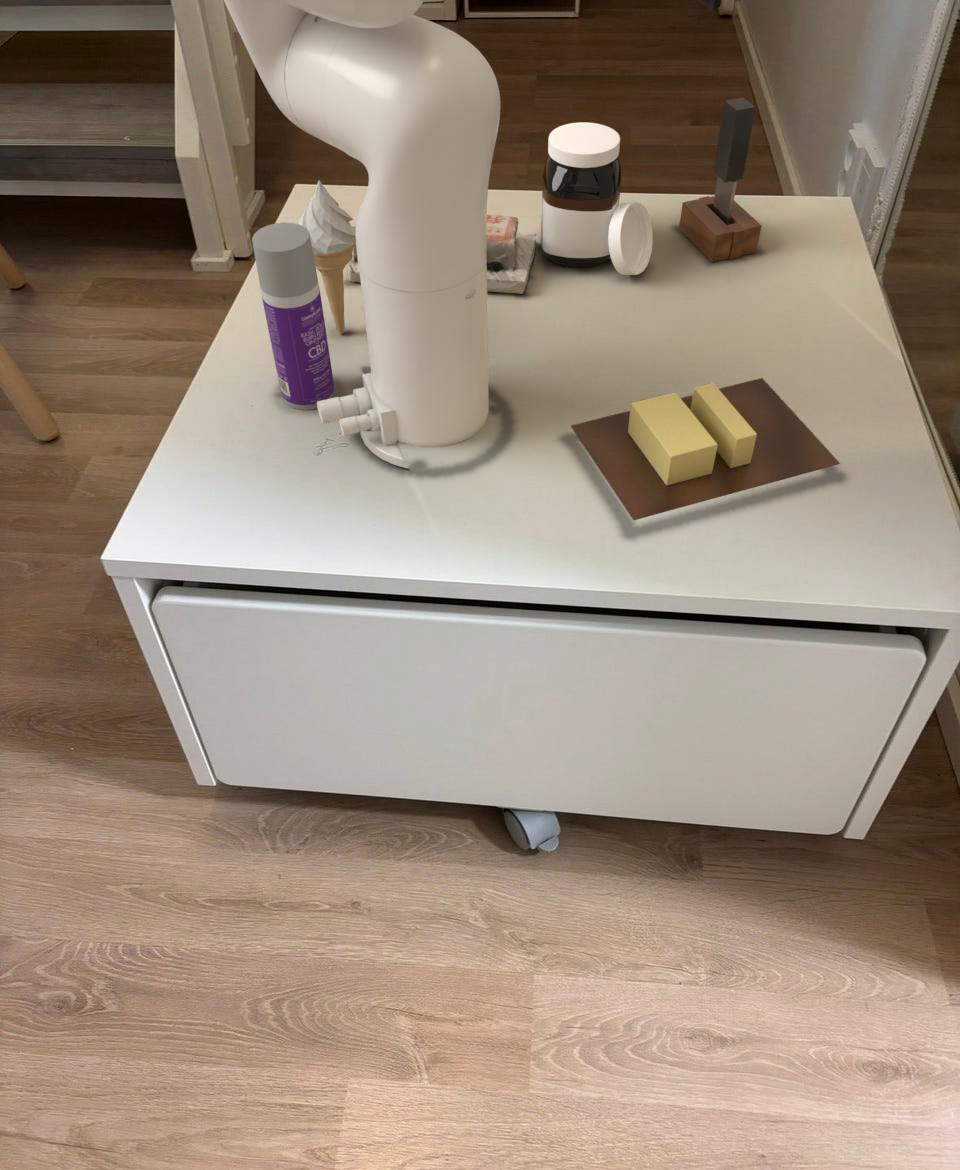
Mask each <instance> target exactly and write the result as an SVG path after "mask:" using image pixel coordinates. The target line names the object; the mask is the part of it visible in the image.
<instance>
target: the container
mask: <svg viewBox="0 0 960 1170" xmlns="http://www.w3.org/2000/svg"><path fill="white" fill-rule="evenodd" d="M251 241H252V247H253V253H254V259H255V264H256V271H257V276H258V282H259V283H258V284H259V288H260V294H261V300H262V305H263V310H264V314H265V320H266V324H267V329H268V335H269V340H270V345H271V349H272V354H273V355H272V356H273V359H274V360H273V361H274V364H275V365H274V366H275V369H276V374H277V380H278V385H279V390H280V394H281V399H282V401H283V402H284V404H285V405H287V406H288V407H290V408H293V409H295V410H301V411H308V410H314V409H318V408H317V401H321V400H326V399H330V398H334V397H335V394H336V393H335V392H336V390H335V382H334V375H333V368H332V363H331V361H332V360H331V357H330V356H331V355H330V349H329V342H328V337H327V336H328V335H327V329H326V322H325V316H324V309H323V302H322V298H321V289H320V284H319V279H318V274H317V273H318V272H317V269H316V267H315V261H314V256H313V250H312V245H311V239H310V234H309V231H308V230H307V229H306V228H305V227H303V226H301V225H299V224H297V223H294V222H277V223H271V224H267V225H265V226H263V227H261V228H260V229H258V230H257V231H256V232H254V234H253V236H252V237H251Z"/></svg>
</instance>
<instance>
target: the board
mask: <svg viewBox="0 0 960 1170" xmlns="http://www.w3.org/2000/svg"><path fill="white" fill-rule="evenodd" d="M718 389H719V390H720V391H721V392H722V394H723V395H724V396H725V397H726V398H727V400H728V401H729V402H730V403H731V404H732V405H733V407H734V408H735V409H736V410H737V411H738V412H739V414H740V415H741V416H742V417H743V418H744V419H745V421H746V422H747V423H748V424H749V425H750V426H751V428H752V429H753V430H754V431H755V432H756V433H757V437H756V441H755V445H754V449H753V454H752V458H751V462H750V463H749V464H745V465H742V466H738V467H734V468H730V467H729V466H728V464H727V463H726V462H725V461H724V459H723V458H722V457H721V456H720V454H719V453H718V452H717V451H716V456H715V461H714V466H713V471H712V473H711V474H708V475H704V476H701V477H697V478H693V479H690V480H686V481H682V482H678V483H675V484H671V485H666V484H665V483H664V481H663V480H662V479H661V477H660V476H659V475H658V473H657V472H656V470H655V469H654V468H653V466H652V465H651V463H650V462H649V461H648V459H647V458H646V457H645V455H644V454H643V452H642V451H641V450H640V448H639V447H638V445H637V444H636V443H635V441H634V440H633V439H632V437H631V436H630V434H629V433H628V426H629V418H630V410H627V411H623V412H619V413H616V414H612V415H607V416H603V417H599V418H595V419H591V420H586V421H583V422H580V423H575V424H571V425H570V428H571V429H572V430H573V432H574V433H575V436H576V437H577V438H578V439H579V441H580V442H581V444H582V447H584V448H585V450H586V452H587V453H588V455H589V456H590V458H591V459H592V461H593V462H594V464H595V465H596V467H597V468H598V470H599V471H600V473H601V474H602V476H603V477H604V479H605V480H606V482H607V483H608V484H609V486H610V488H611V490H612V491H613V493H615V495H616V497H617V498H618V500H619V501H620V503H621V505H622V506H623V507H624V509H625V510H626V511H627V513H628V515H629V516H630V518H631V519H632V520H633V521H637V520H641V519H644V518H648V517H651V516H655V515H659V514H662V513H667V512H669V511H674V510H677V509H681V508H684V507H685V508H686V507H688V506H691V505H692V506H693V505H696V504H699V503H702V502H703V503H704V502H706V501H709V500H713V499H714V500H715V499H717V498H720V497H726V496H728V495H732V494H735V493H739V492H743V491H746V490H750V489H754V488H757V487H760V486H765V485H768V484H772V483H775V482H776V483H777V482H780V481H782V480H783V481H784V480H787V479H790V478H794V477H797V476H801V475H805V474H808V473H812V472H816V471H820V470H823V469H827V468H831V467H834V466H838V465H840V464H841V462H840V461H839V460H838V459H837V458H836V456H834V455H833V454H832V452H831V451H830V450H829V449H828V448H827V447H826V446H825V445H824V444H823V443H822V441H820V440H819V438H818V437H817V436H816V435H815V434H814V433H813V432H812V431H811V429H810V428H808V426H806V424H805V423H804V422H803V421H802V420H801V419H800V417H799V416H798V415H797V414H796V413H795V412H794V411H793V410H792V409H791V407H789V406H788V404H787V403H786V402H785V401H784V400H783V399H782V398H781V397H780V395H778V393H777V392H776V391H775V390H774V389H773V388H772V386H771V385H769V384H768V382H767V381H766V380H765V379H764V378H763V377H761V378H756V379H752V380H749V381H743V382H740V383H736V384H732V385H729V386H728V385H727V386H724V387H720V388H718ZM692 397H693V394H691V395H688V396H684V397H680V398H681V399H682V401H683V402H684V403H685V404H686V406H687V407H688V408H689V409H691V403H692Z"/></svg>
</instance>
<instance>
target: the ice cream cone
mask: <svg viewBox="0 0 960 1170" xmlns="http://www.w3.org/2000/svg"><path fill="white" fill-rule="evenodd" d="M339 206H340V205H339V202H337V200H336V199H335V198H334V197H333V196H332V195H331V194H330V193H329V192H328V190H327V189H326V187H325V186H324V184H323V183H322V181H321V180H320V179H319V180H318V181H317V184H316V187H315V190H314V192H313V194H312V197H311V199H310V200H309V202H308V203H307V206H306V208H305V210H304V211H303V213H302V215H301V217H300V218H299V220H298V222H297V223H296V224H299V225H301V226H303V227H305V228H306V229H307V230H308V231H309V234H310V239H311V245H312V250H313V256H314V261H315V267H316V270H317V271H318V272H319V273H320V275H321V279H322V282H323V285H324V290H325V293H326V297H327V300H328V304H329V307H330V312H331V314H332V317H333V321H334V325H335V329H336V331H337V334H339V335H343V334H344V332H345V329H346V326H345V325H346V324H345V285H344V269H345V267H346V266H347V265H348V264H350V263H351V260H352V258H353V247H354V245H355V244H356V227H355V226H352V224H351V223H350V222H351V221H353V220H354V218H353V217H352V216H351V215H350V214H349V213H348V212H347V211H346V210H345V209H343V208H341V207H339Z"/></svg>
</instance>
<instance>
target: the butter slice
mask: <svg viewBox="0 0 960 1170" xmlns="http://www.w3.org/2000/svg"><path fill="white" fill-rule="evenodd" d="M719 389H720V388H718V386H717V385H716V384H715V383H714V382H711V383H707V384H703V385H699V386H695V387H694V388H693V392H692V395H693V397H692V403H691V409H690V411H691V412H692V413H693V414H694V416H695V417H696V418H697V419H698V421H699V422H700V423H701V424H702V425H703V427H704V428H705V429H706V430H707V432H708V433H709V434H710V435H711V437H712V438H713V439H714V440H715V442H716V443H717V444H718V446H717V452H718V453H719V454H720V456H721V457H722V458H723V459H724V461H725V462H726V463H727V464H728V466H729V467H730V468H734V467H738V466H742V465H745V464H749V463H750V462H751V458H752V454H753V449H754V445H755V441H756V437H757V433H756V432H755V431H754V430H753V429H752V428H751V426H750V425H749V424H748V423H747V422H746V421H745V419H744V418H743V417H742V416H741V415H740V414H739V412H738V411H737V410H736V409H735V408H734V407H733V405H732V404H731V403H730V402H729V401H728V400H727V398H726V397H725V396H724V395H723V394H722V392H721V391H720V390H719Z"/></svg>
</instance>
